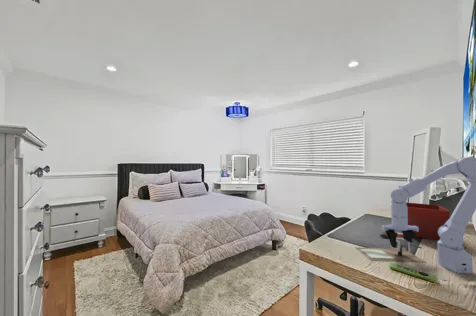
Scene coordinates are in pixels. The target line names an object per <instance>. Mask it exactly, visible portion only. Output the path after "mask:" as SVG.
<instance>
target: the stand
mask: <svg viewBox="0 0 476 316" xmlns="http://www.w3.org/2000/svg"><path fill="white" fill-rule="evenodd" d="M354 249H356V250H357V251H358V252H360V253H361V254H362V255H363V256H364V257H366V258H367V259H368V260H369V261H371V262H394V263H422V264H423V263H424V264H425V263H428V261H425V260H423V259H422V258H420V257H419V256H417V255H414V253H411V251H410V252H408V251H407V250H405V249H403V248H401V247H400V251H397V250H395V249H393V248H392V247H391V248H390V247H389V248H388V247H387V248H385V247H384V248H382V247H354Z"/></svg>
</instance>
